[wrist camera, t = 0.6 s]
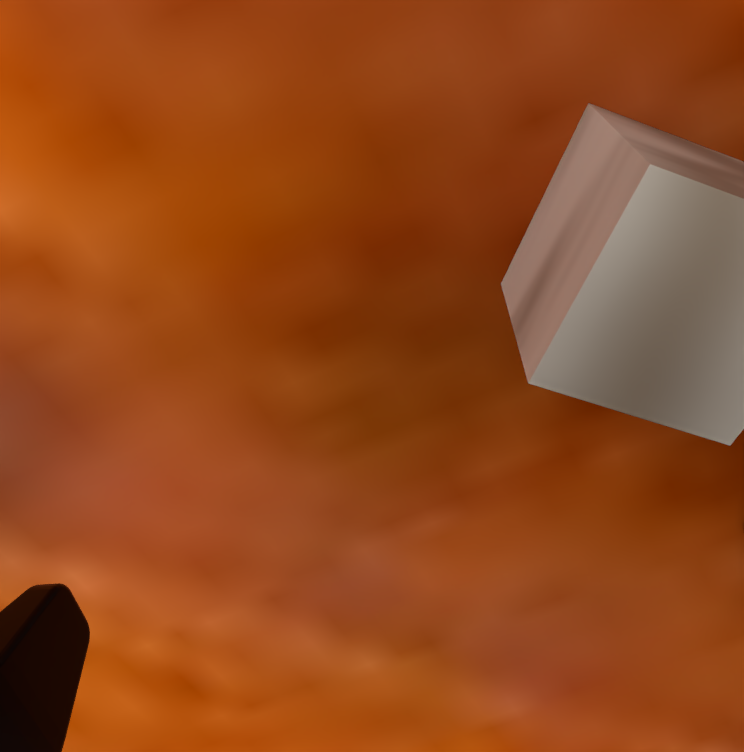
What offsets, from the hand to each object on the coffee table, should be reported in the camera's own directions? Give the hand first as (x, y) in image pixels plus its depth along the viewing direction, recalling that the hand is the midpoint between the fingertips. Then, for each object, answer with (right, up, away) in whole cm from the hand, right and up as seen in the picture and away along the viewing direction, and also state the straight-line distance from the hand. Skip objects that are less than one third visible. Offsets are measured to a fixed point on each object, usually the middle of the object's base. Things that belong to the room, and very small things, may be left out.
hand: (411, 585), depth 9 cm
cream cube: (+6, +6, +10) cm, 13 cm away
